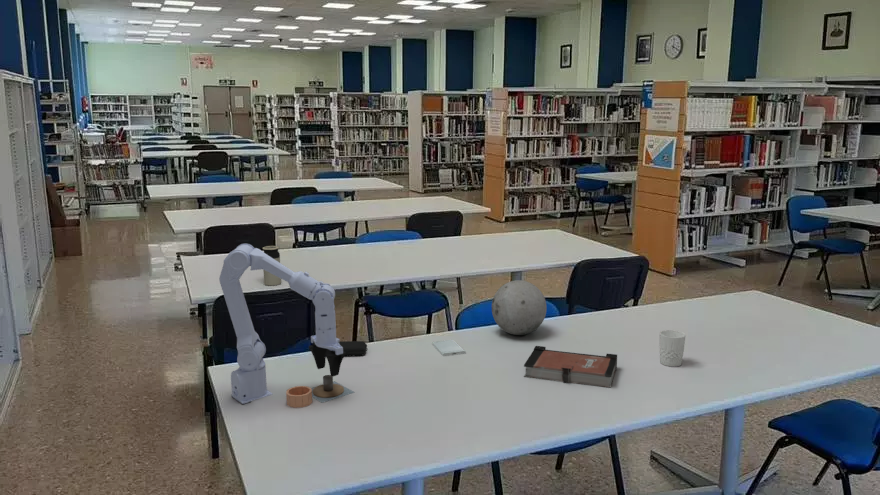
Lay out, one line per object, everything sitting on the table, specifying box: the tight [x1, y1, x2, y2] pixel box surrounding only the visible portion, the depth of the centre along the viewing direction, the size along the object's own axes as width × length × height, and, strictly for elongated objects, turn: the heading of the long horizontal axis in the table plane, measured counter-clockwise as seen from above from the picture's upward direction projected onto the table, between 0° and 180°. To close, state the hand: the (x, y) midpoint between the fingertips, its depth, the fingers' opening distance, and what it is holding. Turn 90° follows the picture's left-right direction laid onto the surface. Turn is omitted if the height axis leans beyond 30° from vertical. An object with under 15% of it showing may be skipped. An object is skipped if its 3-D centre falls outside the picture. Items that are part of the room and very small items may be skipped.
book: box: [523, 345, 618, 389], centre depth 211 cm, size 26×18×5 cm
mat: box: [310, 380, 355, 404], centre depth 198 cm, size 11×11×1 cm
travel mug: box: [262, 245, 282, 287], centre depth 323 cm, size 8×8×18 cm
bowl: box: [285, 385, 313, 409], centre depth 190 cm, size 7×7×4 cm
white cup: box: [659, 329, 687, 368], centre depth 218 cm, size 8×8×10 cm
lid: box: [313, 374, 345, 398], centre depth 197 cm, size 9×9×5 cm
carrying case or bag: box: [326, 340, 368, 357], centre depth 232 cm, size 11×3×15 cm
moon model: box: [491, 279, 547, 336], centre depth 247 cm, size 20×20×20 cm
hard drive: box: [431, 339, 467, 357], centre depth 234 cm, size 2×8×12 cm
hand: (327, 371), depth 196 cm, fingers open, 7 cm apart
